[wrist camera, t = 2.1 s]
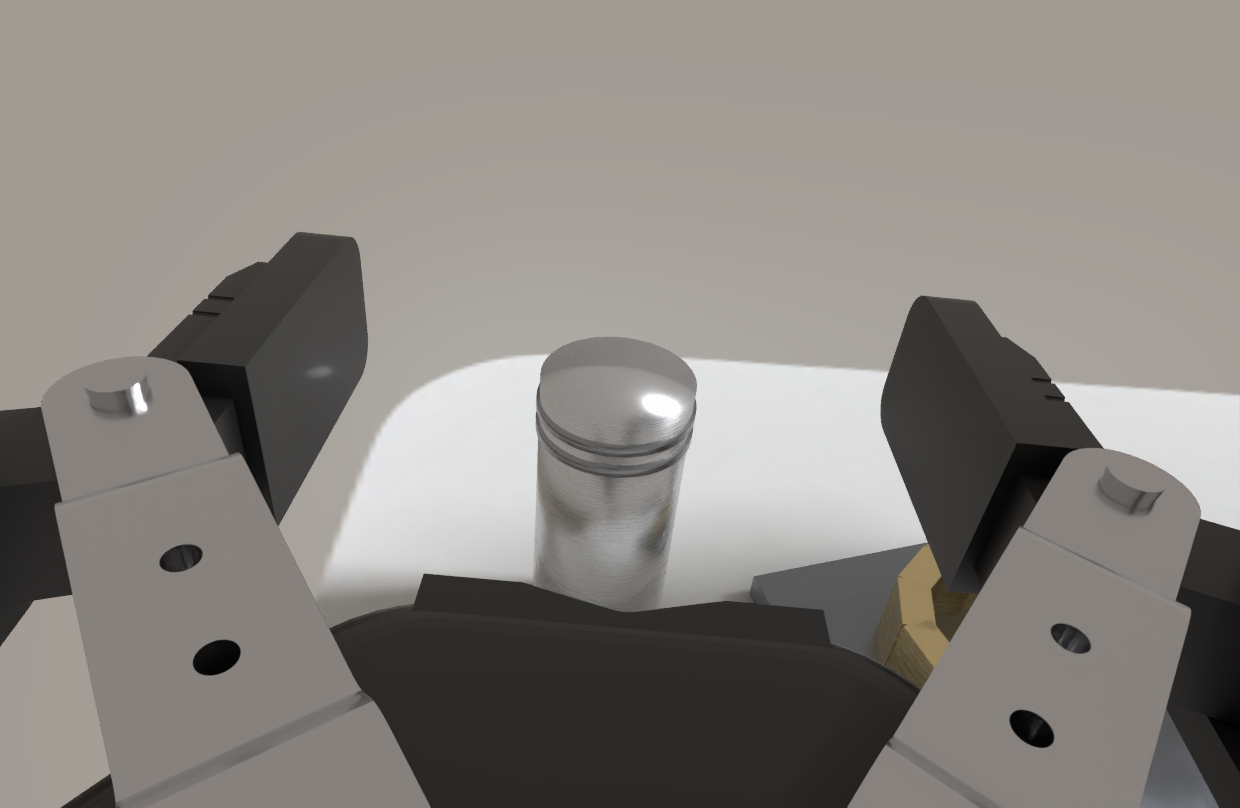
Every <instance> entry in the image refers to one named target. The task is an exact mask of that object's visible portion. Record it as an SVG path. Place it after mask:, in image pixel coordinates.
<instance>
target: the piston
mask: <svg viewBox="0 0 1240 808" xmlns="http://www.w3.org/2000/svg"><path fill="white" fill-rule="evenodd" d="M696 389H697V383H696V378H695V375H694V373H693V372H692V370H691V369H690V367H689V366H688V365H687V364H686V363H685V362H684V361H683V360H682V359H681V358H679V357H678V356H676V355H675V354H673V353H671V352H670V351H668V350H666V349H664V348H662V347H659V346H656V345H654V344H651V343H648V342H644V341H640V340H635V339H629V338H620V337H598V338H597V337H596V338H589V339H584V340H579V341H576V342H572V343H569V344H567V345H565V346H562V347H561V348H559V349H557V350H556V351H554V352H553V353H552V354H551V355H550V356H549V357H548V358H547V359H546V360H545V362H544V363H543V366H542V368H541V374H540V384H539V386H538V389H537V399H536V407H537V412H536V432H537V436H538V461H537V491H536V520H535V550H534V579H533V586H536V587H539V588H542V589H546V590H549V591H552V592H556V593H559V594H562V595H566V596H569V597H572V598H576V599H579V600H582V601H585V602H589V603H592V604H595V605H599V606H602V607H605V608H609V609H612V610H616V611H620V612H638V611H646V610H655V609H660V603H661V597H662V591H663V585H664V579H665V573H666V568H667V562H668V556H669V550H670V544H671V538H672V532H673V526H674V520H675V514H676V508H677V502H678V496H679V491H680V485H681V479H682V473H683V467H684V461H685V455H686V452H687V450H688V448H689V446H690V443H691V438H692V432H693V424H694V420H695V414H696V400H695V396H696Z"/></svg>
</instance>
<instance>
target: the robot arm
mask: <svg viewBox="0 0 1240 808" xmlns="http://www.w3.org/2000/svg"><path fill="white" fill-rule="evenodd" d="M365 313H366V312H365V302H364V292H363V281H362V271H361V261H360V253H359V248H358V245H357V243H356V241H355V239H354V238H352V237H345V236H335V235H324V234H314V233H305V232H298V233H296V234H295V235H294V236H293V237H292V238H291V239H290V240H289V241H288V242H287V243H286V244H285V245H284V246H283V247H282V249H281V250H280V251H279V252H278V253H277V254H276V255H275V256H274V257H273V258H272V259H271V260H270V261H269V262H268V263H264V262H257V263H255V264H253V265H251V266H248V267H246V268H245V269H242V270H240V271H238V272H236V273H233V274H231V275H229V276H227V277H226V278H225V279H224V280H223V281H222V282H221V283H220V284H219V285H218V286H217V287H216V288H215V289H214V290H213V291H212V292H211V293H210V294H209V295H208V299H204V300H203V301H202V302H201V303H200V304H199V305H198V306H197V307H196V308H195V309H194V310H193V315H188V316H187V317H186V318H185V319H184V320H183V321H182V322H181V323H180V324H179V325H178V326H177V327H176V328H175V329H174V330H173V331H172V332H171V333H170V334H169V335H168V336H167V337H166V338H165V339H164V340H163V341H162V342H161V343H160V344H159V345H158V346H157V347H156V348H155V349H154V350H153V351H152V352H151V353H150V354H149V355H148V356H147V357H124V358H117V359H110V360H106V361H102V362H98V363H94V364H91V365H88V366H85V367H83V368H80V369H78V370H75V371H73V372H71V373H69V374H67V375H66V376H64V377H62V378H61V379H60V380H58V381H57V382H56V383H54V384H53V385H52V386H51V387H50V388H49V389H48V390H47V391H46V393H45V394H44V396H43V399H42V401H41V407H37V408H27V409H17V410H4V411H0V646H1V645H2V643H3V642H4V641H5V639H6V638H7V637H8V635H9V634H10V632H11V631H12V630H13V629H14V627H15V626H16V625H17V623H18V622H19V620H20V619H21V618H22V616H23V615H24V614H25V612H26V611H27V610H28V608H29V607H30V606H31V604H32V602H33V601H34V600H40V599H46V598H53V597H60V596H66V595H73V599H74V603H75V608H76V613H77V617H78V622H79V627H80V632H81V636H82V641H83V646H84V650H85V655H86V660H87V664H88V669H89V674H90V679H91V684H92V688H93V693H94V698H95V703H96V707H97V712H98V717H99V721H100V726H101V730H102V735H103V740H104V745H105V750H106V754H107V759H108V764H109V768H110V773H111V774H109V775H108V776H106V777H105V778H103V779H102V780H101V781H99V782H98V783H96V784H95V785H93V786H92V787H90V788H89V789H87V790H86V791H84V792H83V793H81V794H80V795H79V796H77V797H76V798H74V799H73V800H71V801H70V802H68V803H67V804H65V805H64V806H62V807H61V808H1139V806H1140V803H1141V799H1142V795H1143V792H1144V788H1145V784H1146V781H1147V777H1148V773H1149V769H1150V766H1151V762H1152V758H1153V755H1154V751H1155V747H1156V743H1157V740H1158V736H1159V732H1160V729H1161V725H1162V721H1163V718H1164V714H1165V710H1166V709H1167V711H1168V713H1169V715H1170V717H1171V719H1172V721H1173V722H1174V724H1175V726H1176V728H1177V730H1178V732H1179V734H1180V736H1181V737H1182V739H1183V741H1184V743H1185V745H1186V747H1187V749H1188V751H1189V752H1190V754H1191V756H1192V758H1193V760H1194V762H1195V764H1196V765H1197V767H1198V769H1199V771H1200V773H1201V775H1202V777H1203V779H1204V780H1205V782H1206V784H1207V786H1208V788H1209V790H1210V792H1211V794H1212V795H1213V797H1214V799H1215V801H1216V803H1217V805H1218V807H1219V808H1240V530H1237V529H1233V528H1230V527H1226V526H1223V525H1219V524H1216V523H1212V522H1209V521H1206V520H1202V519H1200V516H1201V510H1200V506H1199V504H1198V502H1197V500H1196V498H1195V497H1194V496H1193V494H1192V493H1191V492H1190V491H1189V490H1188V489H1187V488H1186V487H1185V486H1184V485H1183V484H1182V483H1181V482H1180V481H1178V480H1177V479H1176V478H1175V477H1173V476H1172V475H1170V474H1169V473H1167V472H1166V471H1164V470H1162V469H1160V468H1159V467H1157V466H1155V465H1153V464H1151V463H1149V462H1147V461H1145V460H1142V459H1140V458H1137V457H1134V456H1132V455H1129V454H1125V453H1122V452H1118V451H1114V450H1109V449H1104V448H1103V447H1102V446H1101V444H1100V443H1099V442H1098V440H1097V439H1096V438H1095V436H1094V435H1093V434H1092V432H1091V431H1090V430H1089V428H1088V427H1087V426H1086V425H1085V423H1084V422H1083V421H1082V419H1081V418H1080V417H1079V415H1078V414H1077V413H1076V411H1075V410H1074V409H1073V407H1072V406H1071V405H1070V403H1069V402H1064V399H1065V397H1064V395H1063V394H1062V393H1061V391H1060V390H1059V389H1058V387H1057V386H1056V385H1055V384H1051V378H1050V377H1049V376H1048V374H1047V373H1046V372H1045V370H1044V369H1043V368H1042V366H1041V365H1040V364H1039V362H1038V361H1037V360H1036V358H1035V357H1033V356H1032V355H1030V354H1029V353H1027V352H1026V351H1025V350H1023V349H1022V348H1020V347H1019V346H1017V345H1016V344H1015V343H1013V342H1012V341H1010V340H1009V339H1008V338H1005V337H1001V336H1000V334H999V333H998V331H997V330H996V329H995V327H994V326H993V325H992V323H991V322H990V320H989V319H988V318H987V316H986V315H985V313H984V312H983V311H982V309H981V308H980V306H979V305H978V304H977V303H976V302H975V301H969V300H960V299H949V298H939V297H930V296H920V297H918V298H917V299H916V300H915V302H914V303H913V305H912V307H911V309H910V311H909V314H908V316H907V320H906V322H905V325H904V328H903V331H902V334H901V337H900V341H899V343H898V347H897V349H896V352H895V355H894V359H893V362H892V364H891V368H890V370H889V373H888V376H887V379H886V382H885V385H884V389H883V393H882V399H881V423H882V428H883V431H884V433H885V436H886V438H887V441H888V443H889V446H890V448H891V451H892V453H893V456H894V458H895V461H896V463H897V466H898V468H899V471H900V473H901V476H902V478H903V481H904V483H905V486H906V488H907V491H908V493H909V496H910V498H911V501H912V503H913V506H914V508H915V511H916V513H917V516H918V518H919V521H920V523H921V526H922V528H923V531H924V533H925V536H926V538H927V541H928V543H929V546H930V549H931V551H932V554H933V556H934V559H935V561H936V564H937V566H938V569H939V571H940V574H941V576H942V579H943V581H944V584H945V586H946V589H947V591H951V592H961V593H972V594H979V595H978V596H977V598H976V600H975V601H974V603H973V605H972V606H971V608H970V610H969V611H968V613H967V615H966V616H965V618H964V620H963V621H962V623H961V625H960V626H959V628H958V630H957V631H956V633H955V635H954V636H953V638H952V640H951V641H950V643H949V645H948V646H947V648H946V650H945V651H944V653H943V655H942V656H941V658H940V659H939V661H938V663H937V664H936V666H935V668H934V669H933V671H932V673H931V674H930V676H929V678H928V679H927V681H926V683H925V684H924V686H923V688H922V689H920V688H919V687H918V686H916V685H915V684H914V683H912V682H911V681H910V680H908V679H907V678H905V677H904V676H902V675H900V674H899V673H897V672H896V671H894V670H892V669H891V668H889V667H888V666H886V665H884V664H882V663H880V662H878V661H876V660H874V659H872V658H870V657H868V656H866V655H864V654H862V653H859V652H857V651H855V650H852V649H850V648H847V647H845V646H842V645H839V644H836V643H833V642H830V637H829V633H828V628H827V624H826V619H825V615H824V611H823V610H820V609H809V608H798V607H787V606H776V605H765V604H754V603H743V602H732V601H722V602H714V603H705V604H697V605H688V606H680V607H671V608H663V609H655V610H646V611H638V612H620V611H616V610H612V609H609V608H605V607H602V606H599V605H595V604H592V603H589V602H585V601H582V600H579V599H576V598H572V597H569V596H566V595H562V594H559V593H556V592H552V591H549V590H546V589H542V588H539V587H536V586H532V585H529V584H526V583H522V582H511V581H500V580H488V579H477V578H466V577H455V576H444V575H433V574H424V575H423V578H422V581H421V584H420V587H419V590H418V594H417V597H416V600H415V603H414V604H412V605H404V606H398V607H393V608H388V609H384V610H379V611H375V612H372V613H369V614H366V615H362V616H359V617H356V618H353V619H350V620H348V621H346V622H343V623H341V624H339V625H336V626H334V627H332V628H329V627H328V625H327V623H326V621H325V619H324V617H323V615H322V613H321V611H320V609H319V607H318V605H317V603H316V601H315V599H314V597H313V595H312V593H311V591H310V589H309V587H308V585H307V584H306V581H305V579H304V577H303V575H302V573H301V571H300V569H299V567H298V566H297V564H296V561H295V559H294V557H293V556H292V553H291V552H290V550H289V547H288V545H287V543H286V542H285V540H284V538H283V535H282V534H281V531H280V530H279V528H278V526H279V524H280V522H281V520H282V519H283V517H284V515H285V513H286V512H287V510H288V508H289V506H290V504H291V503H292V501H293V498H294V497H295V495H296V494H297V492H298V490H299V488H300V486H301V485H302V483H303V481H304V479H305V477H306V476H307V474H308V472H309V470H310V468H311V466H312V465H313V463H314V461H315V459H316V458H317V456H318V454H319V452H320V450H321V449H322V447H323V445H324V443H325V441H326V440H327V438H328V436H329V434H330V432H331V431H332V429H333V427H334V425H335V423H336V422H337V420H338V418H339V416H340V414H341V413H342V411H343V409H344V407H345V406H346V404H347V402H348V400H349V398H350V396H351V395H352V393H353V391H354V389H355V387H356V386H357V384H358V382H359V380H360V379H361V376H362V374H363V371H364V368H365V364H366V358H367V350H368V333H367V323H366V314H365Z"/></svg>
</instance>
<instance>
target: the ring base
mask: <svg viewBox="0 0 1240 808" xmlns="http://www.w3.org/2000/svg"><path fill="white" fill-rule="evenodd" d="M750 594H751V596H752V597H753V599H754V601H755V603H756V604H765V605H776V606H787V607H798V608H809V609H820V610H823V611H824V615H825V619H826V624H827V628H828V633H829V637H830V642H833V643H836V644H839V645H842V646H845V647H847V648H850V649H852V650H855V651H857V652H859V653H862V654H864V655H866V656H868V657H870V658H872V659H874V660H876V661H878V662H880V663H882V664H884V665H886V666H888V667H889V668H891V669H892V670H894V671H896V672H897V673H899V674H900V675H902V676H904V677H905V678H907V679H908V680H910V681H911V682H912V683H914V684H915V685H916V686H918V687H919V688H920V689H922V688H923V686H924V684H925V683H926V681H927V679H928V678H929V676H930V674H931V673H932V671H933V669H934V668H935V666H936V664H937V663H938V661H939V659H940V658H941V656H942V655H943V653H944V651H945V650H946V648H947V646H948V645H949V643H950V641H951V640H952V638H953V636H954V635H955V633H956V631H957V630H958V628H959V626H960V625H961V623H962V621H963V620H964V618H965V616H966V615H967V613H968V611H969V610H970V608H971V606H972V605H973V603H974V601H975V600H976V598H977V596H978V595H979V594H972V593H961V592H951V591H947V589H946V586H945V584H944V581H943V579H942V576H941V574H940V571H939V569H938V566H937V564H936V561H935V559H934V556H933V554H932V551H931V549H930V546H929V543H923V544H918V545H913V546H908V547H903V548H897V549H892V550H887V551H882V552H877V553H872V554H867V555H862V556H856V557H851V558H846V559H841V560H836V561H831V562H826V563H821V564H816V565H810V566H805V567H800V568H795V569H790V570H785V571H780V572H775V573H769V574H764V575H759V576H754V578H753V582H752V586H751V590H750ZM1139 808H1219V807H1218V805H1217V803H1216V801H1215V799H1214V797H1213V795H1212V794H1211V792H1210V790H1209V788H1208V786H1207V784H1206V782H1205V780H1204V779H1203V777H1202V775H1201V773H1200V771H1199V769H1198V767H1197V765H1196V764H1195V762H1194V760H1193V758H1192V756H1191V754H1190V752H1189V751H1188V749H1187V747H1186V745H1185V743H1184V741H1183V739H1182V737H1181V736H1180V734H1179V732H1178V730H1177V728H1176V726H1175V724H1174V722H1173V721H1172V719H1171V717H1170V715H1169V713H1168V711H1167V709H1166V710H1165V714H1164V718H1163V721H1162V725H1161V729H1160V732H1159V736H1158V740H1157V743H1156V747H1155V751H1154V755H1153V758H1152V762H1151V766H1150V769H1149V773H1148V777H1147V781H1146V784H1145V788H1144V792H1143V795H1142V799H1141V803H1140V806H1139Z"/></svg>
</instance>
